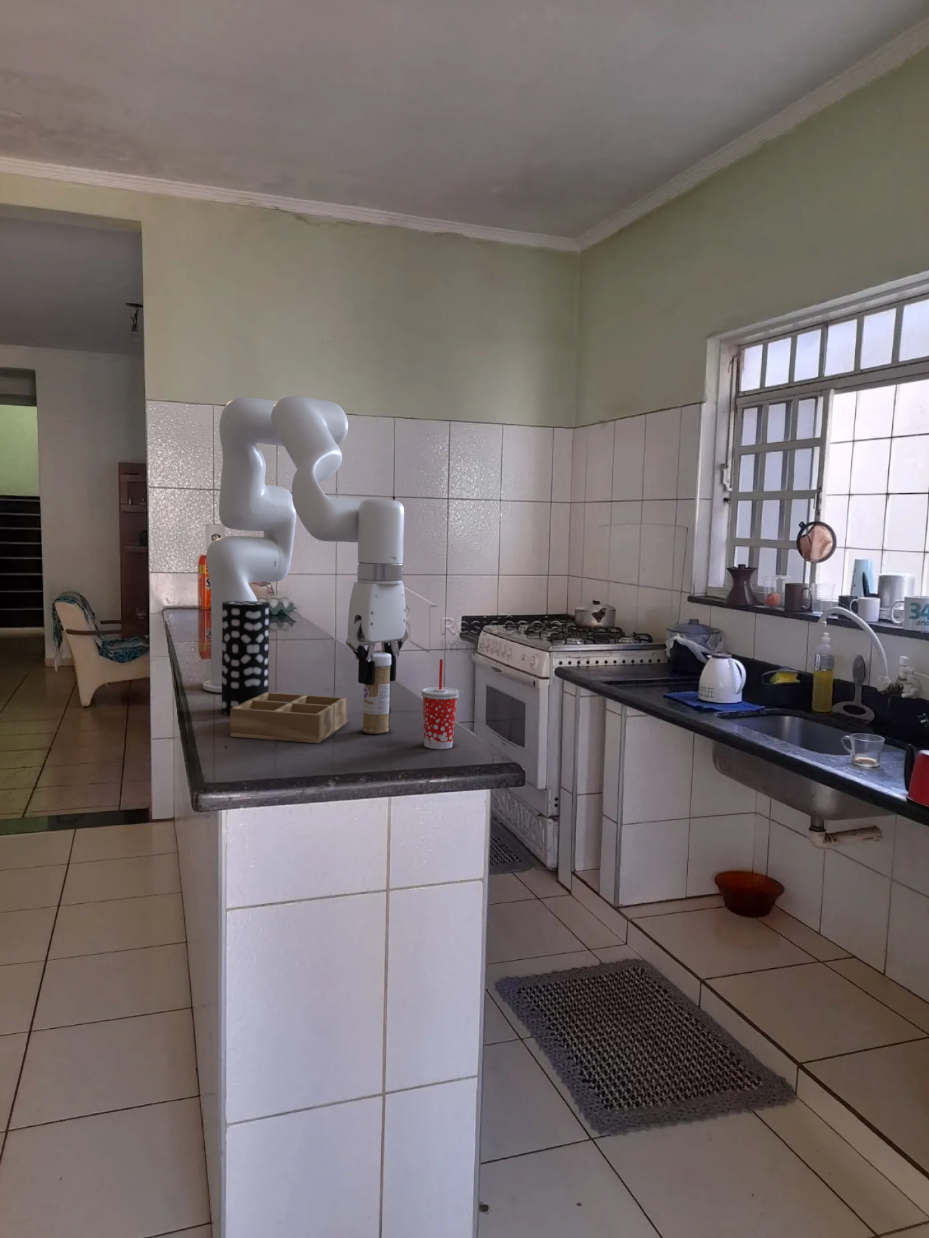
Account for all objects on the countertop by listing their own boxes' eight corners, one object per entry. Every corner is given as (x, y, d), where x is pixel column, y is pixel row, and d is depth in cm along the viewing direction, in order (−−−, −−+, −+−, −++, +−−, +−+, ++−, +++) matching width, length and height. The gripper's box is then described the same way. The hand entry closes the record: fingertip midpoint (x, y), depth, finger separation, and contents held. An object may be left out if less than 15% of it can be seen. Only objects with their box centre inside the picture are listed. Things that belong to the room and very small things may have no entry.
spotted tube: (256, 717, 154) (257, 605, 152) (213, 714, 156) (213, 603, 154) (275, 708, 162) (276, 602, 160) (234, 705, 164) (235, 600, 162)
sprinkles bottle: (356, 730, 147) (358, 652, 146) (378, 727, 150) (380, 650, 149) (373, 736, 144) (375, 656, 142) (394, 732, 147) (396, 654, 145)
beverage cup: (453, 751, 136) (456, 663, 134) (415, 748, 137) (418, 660, 135) (460, 742, 142) (463, 657, 140) (423, 739, 143) (426, 655, 141)
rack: (265, 717, 155) (266, 692, 154) (346, 723, 152) (347, 697, 152) (230, 736, 140) (230, 708, 139) (318, 743, 138) (319, 715, 137)
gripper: (396, 572, 153) (393, 673, 155) (327, 573, 140) (325, 685, 141) (429, 574, 149) (425, 679, 151) (361, 576, 135) (358, 691, 137)
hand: (377, 680), depth 146 cm, fingers closed on sprinkles bottle, 4 cm apart
